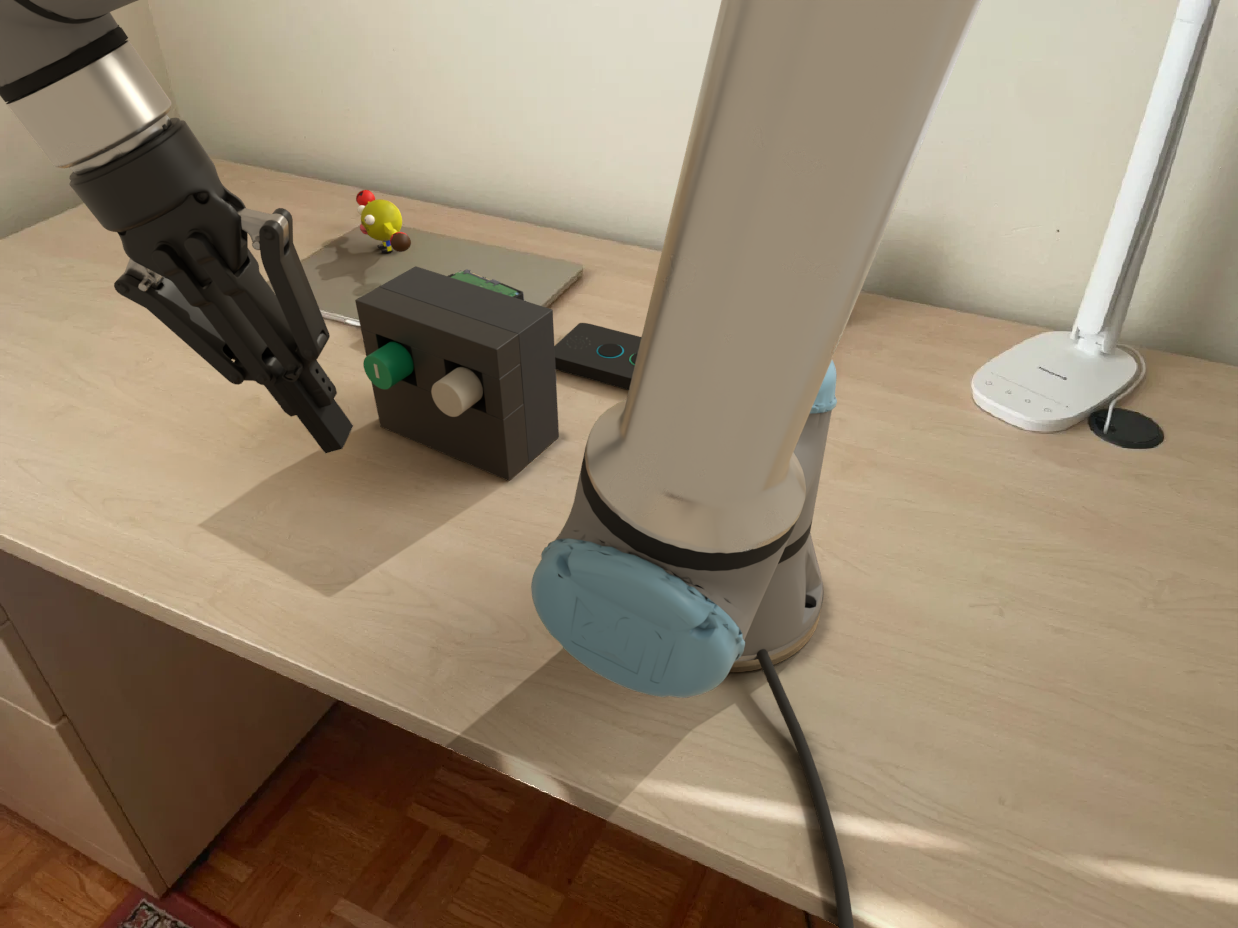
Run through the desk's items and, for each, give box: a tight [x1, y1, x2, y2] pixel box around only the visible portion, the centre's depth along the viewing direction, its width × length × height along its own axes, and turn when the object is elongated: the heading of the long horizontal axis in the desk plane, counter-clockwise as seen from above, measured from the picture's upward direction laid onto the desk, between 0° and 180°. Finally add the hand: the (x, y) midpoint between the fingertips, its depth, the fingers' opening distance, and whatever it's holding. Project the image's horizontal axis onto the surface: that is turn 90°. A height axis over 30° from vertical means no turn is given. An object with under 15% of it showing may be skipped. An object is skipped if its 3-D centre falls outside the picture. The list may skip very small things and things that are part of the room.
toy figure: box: [355, 189, 412, 254], centre depth 119 cm, size 18×6×7 cm, turn 28°
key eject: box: [431, 367, 483, 417], centre depth 79 cm, size 3×3×3 cm
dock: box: [354, 265, 560, 482], centre depth 85 cm, size 8×16×14 cm, turn 58°
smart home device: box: [554, 322, 642, 391], centre depth 97 cm, size 8×2×20 cm
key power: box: [362, 342, 414, 389], centre depth 82 cm, size 3×3×3 cm
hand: (339, 439), depth 67 cm, fingers closed
